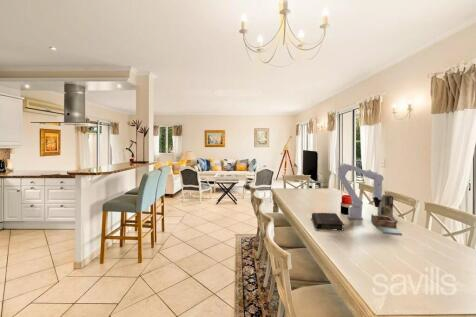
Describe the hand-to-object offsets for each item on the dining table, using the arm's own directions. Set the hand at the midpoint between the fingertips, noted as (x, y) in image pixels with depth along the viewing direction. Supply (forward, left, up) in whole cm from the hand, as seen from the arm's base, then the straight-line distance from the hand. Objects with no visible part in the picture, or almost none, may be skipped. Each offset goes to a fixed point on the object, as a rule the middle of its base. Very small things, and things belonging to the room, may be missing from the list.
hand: (376, 206), depth 185 cm
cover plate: (+1, -26, -10) cm, 28 cm away
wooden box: (+1, -13, -9) cm, 16 cm away
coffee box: (+10, +14, -10) cm, 20 cm away
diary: (-38, -22, -10) cm, 45 cm away
